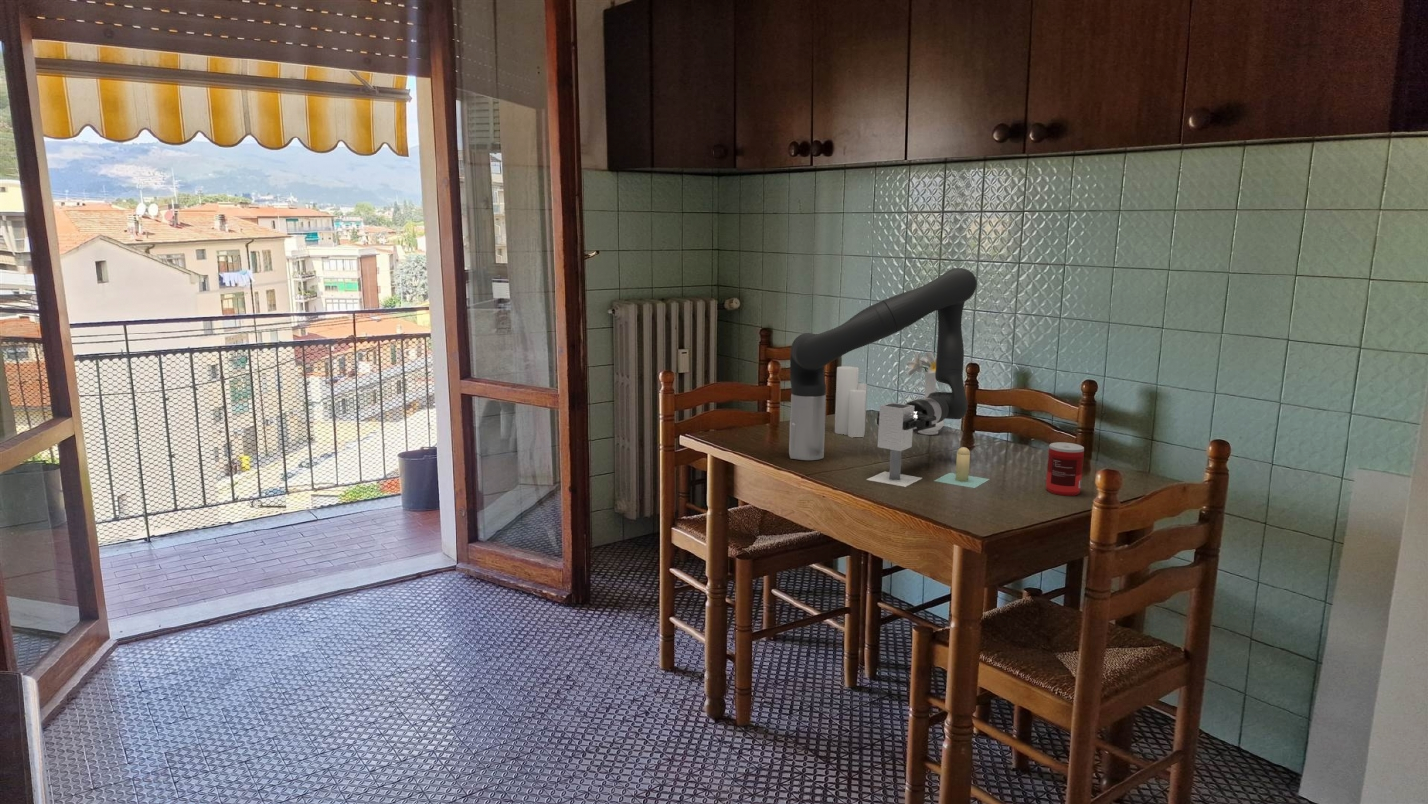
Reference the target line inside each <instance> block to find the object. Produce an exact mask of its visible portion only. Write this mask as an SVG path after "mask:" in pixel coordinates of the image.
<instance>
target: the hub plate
mask: <svg viewBox="0 0 1428 804" xmlns="http://www.w3.org/2000/svg"><path fill="white" fill-rule="evenodd" d="M970 460H971V452H970V450H969V449H968V448H967V447H964V446H962V447H959V449H957V451H956V460H955V461H956V463H955V464H956V465H955V473H954V472H948V473H946V474H944V475H942V476H939V478H937V479H934V480H933V481H934V482H937V483H943V484H949V485H955V486H960V487H966V488H971V489H975V488H977V487H979V486H981V485H983V484H984V483H986V482H987V481H989V480H991V479H990V478H986V477H979V476H972V475H970V464H971V463H970Z"/></svg>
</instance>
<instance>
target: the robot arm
mask: <svg viewBox="0 0 1428 804" xmlns="http://www.w3.org/2000/svg"><path fill="white" fill-rule="evenodd" d="M977 284H978V282H977V278H976V276H975V274H974V273H973V272H972V271H970V270H969V269H966V268H961V267H955V268H950V269H949V270H947V271H946V272H944V273H942V274H941V275H939V276H938V277H937V278H935V279H933V280H930V282H927V283H926V284H924V285H921V286H919V287H916V288H915V289H911V290H907V291H904V292H901V293H899V294H895V295H893V296H891V297H888V298H886V299H883V300H881V301H878V302H876V303H874V304H872V305H870V306H868V307H865V308H864V309H862V310H861V311H859V312H858V313H856V314H855V315H853V316H851V318H849V319H848V320H846V321H845V322H844V323H842V324H841V325H838V326H837V327H834V328H832V329H829V330H827V331H823V332H820V333H818V334H817V333H816V334H814V333H812V332H811V333H810V332H805V333H802V334H799V335H798V336H796V338H794V340H793V342H792V344H791V346H790V362H789V363H790V365H789V366H790V367H789V368H790V369H789V374H790V375H789V378H790V379H789V380H790V390H791V391H790V393H791V395H790V419H789V437H788V438H789V439H788V444H789V445H788V454H789V459H790V460H791V459H794V460H798V461H799V460H800V461H818V460H822V459H824V456H825V455H824V454H825V432H826V431H825V429H826V427H825V426H826V405H827V404H826V403H827V398H826V397H827V383H826V379H825V366H826V365H828V364H830V363H832V362H833V361H835V360H837V359H839V358H840V357H843V356H844V355H846V354H848V353H849V352H852V351H854V350H858V349H861V348H862V347H865V346H868V345H870V344H873V343H875V342H878V341H880V340H884V339H885V338H888V337H889V336H891V335H894V334H897V333H898V332H901V331H902V330H904V329H907V328H908V327H909V326H911V325H913V324H915V323H916V322H918V321H920V320H921V319H923V318H925V317H926V316H928V315H930V314H932V313H933V312H934V313H935V312H936V311H937V345H936V346H937V347H936V348H937V349H936V356H937V357H936V356H935V357H936V372H935V378H936V382H939V383H942V384H945V385H948V386H949V387H950V389H951V392H950V391H949V392H947V391H935V392H933V393H930V394H929V396H928V397H927V398H925V397H921V398H917V399H913V400H911V401H908V402H907V403H904V404H905V405H913V406H914V417H913V418H912V419H908V420H905V421H904V426H903V429H904V430H909V429H913V432H918V431H920V430H924V429H928V428H933V427H936V423H939V422H941V421H943V420H944V421H945V419H947V420H961V419H962V418H964V417H966V415H967V412H968V407H969V404H968V399H967V394H966V389H965V384H964V377H963V375H964V374H963V373H964V360H965V347H964V341H963V339H964V338H963V333H962V331H963V330H962V319H963V311H964V306H965V302H967V301H968V300H969V299H971V298H972V296H974V293H976V290H977V289H976V288H977ZM879 415H880V411H878V412H877V417H876V424H877V426H878V427H879Z"/></svg>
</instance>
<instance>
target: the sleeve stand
mask: <svg viewBox="0 0 1428 804" xmlns="http://www.w3.org/2000/svg"><path fill="white" fill-rule="evenodd" d="M889 450H890V451H889V452H890V454H889V471H885V470H884V471H883V472H880V473H878V474H876V475H873V476H871V477H869V478H866V481H870V482H876V483H880V484H881V483H882V484H888V485H894V486H898V487H904V488H907V487H908V486H910V485H912V484H913V483H916V482H918V481H920V480H922V479H923V477H919V476H913V475H907V474H903V473H901V471H902V451H897V450H891V449H889Z"/></svg>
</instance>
